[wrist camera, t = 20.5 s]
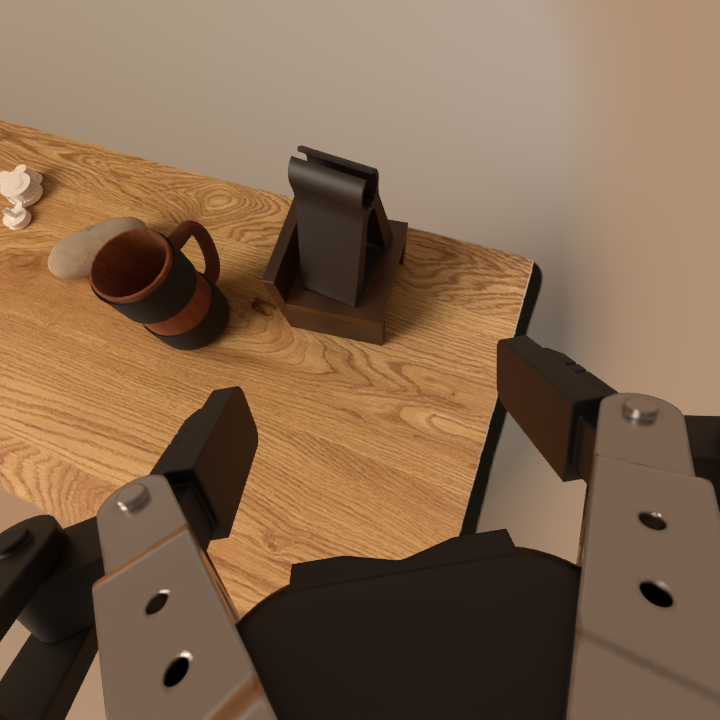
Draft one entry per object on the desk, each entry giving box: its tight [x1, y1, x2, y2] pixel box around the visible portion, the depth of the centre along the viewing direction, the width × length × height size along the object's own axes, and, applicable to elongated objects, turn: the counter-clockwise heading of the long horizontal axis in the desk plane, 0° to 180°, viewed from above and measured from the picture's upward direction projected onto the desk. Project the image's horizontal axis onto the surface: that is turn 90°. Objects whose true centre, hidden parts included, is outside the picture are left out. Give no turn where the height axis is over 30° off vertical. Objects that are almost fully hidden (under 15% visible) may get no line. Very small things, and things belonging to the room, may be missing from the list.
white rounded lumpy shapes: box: [0, 164, 43, 230], centre depth 49 cm, size 9×9×2 cm
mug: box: [89, 220, 229, 350], centre depth 37 cm, size 9×12×12 cm
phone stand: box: [288, 146, 393, 308], centre depth 30 cm, size 9×6×12 cm, turn 154°
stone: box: [48, 217, 148, 279], centre depth 43 cm, size 6×6×12 cm
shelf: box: [262, 197, 408, 346], centre depth 37 cm, size 11×12×10 cm
